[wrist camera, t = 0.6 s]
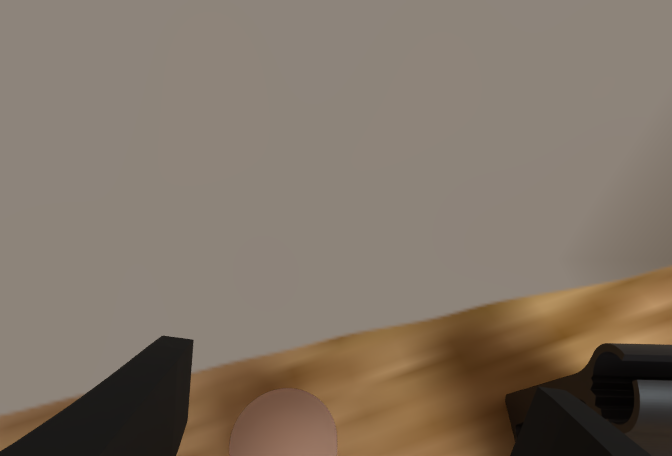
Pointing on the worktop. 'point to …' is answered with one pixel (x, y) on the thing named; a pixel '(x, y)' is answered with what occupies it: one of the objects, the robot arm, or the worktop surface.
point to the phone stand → (618, 393)
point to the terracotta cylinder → (284, 426)
